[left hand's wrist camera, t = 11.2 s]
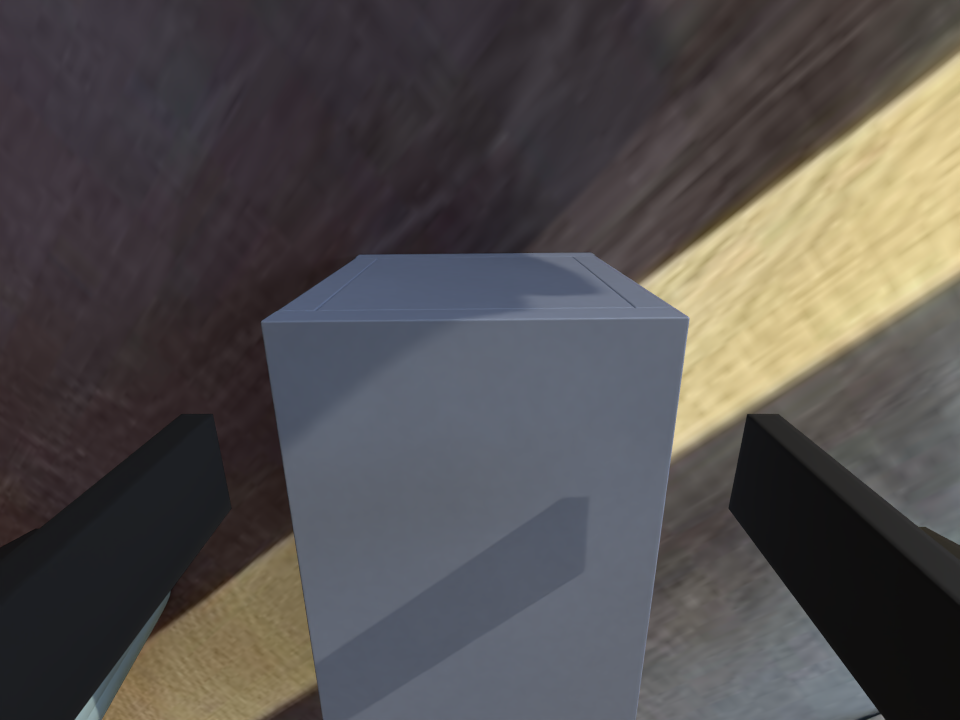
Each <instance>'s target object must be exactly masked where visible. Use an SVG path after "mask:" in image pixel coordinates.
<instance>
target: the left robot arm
mask: <svg viewBox="0 0 960 720" xmlns="http://www.w3.org/2000/svg"><path fill="white" fill-rule="evenodd" d="M230 510H231V503H230V498H229V493H228V488H227V483H226V478H225V473H224V468H223V463H222V458H221V453H220V448H219V443H218V438H217V433H216V428H215V423H214V418H213V414H181V415H180V416H179V417H177V418H176V419H175V420H174V421H172V422H171V423H170V424H169V425H167V426H166V427H165V428H164V429H162V430H161V431H160V432H159V433H158V434H156V435H155V436H154V437H153V438H151V439H150V440H149V441H148V442H146V443H145V444H144V445H143V446H141V447H140V448H139V449H138V450H136V451H135V452H134V453H133V454H131V455H130V456H129V457H128V458H127V459H125V460H124V461H123V462H122V463H120V464H119V465H118V466H117V467H115V468H114V469H113V470H112V471H110V472H109V473H108V474H107V475H105V476H104V477H103V478H102V479H101V480H99V481H98V482H97V483H96V484H94V485H93V486H92V487H91V488H89V489H88V490H87V491H86V492H84V493H83V494H82V495H81V496H79V497H78V498H77V499H76V500H74V501H73V502H72V503H71V504H70V505H68V506H67V507H66V508H65V509H63V510H62V511H61V512H60V513H58V514H57V515H56V516H55V517H53V518H52V519H51V520H50V521H48V522H47V523H46V524H45V525H44V526H42V527H41V528H40V529H34V530H32V531H30V532H29V533H27V534H25V535H23V536H21V537H19V538H17V539H15V540H14V541H12V542H10V543H8V544H6V545H4V546H2V547H1V548H0V720H75V719H76V717H77V716H78V715H79V713H80V712H81V711H82V709H83V708H84V707H85V705H86V704H87V703H88V701H89V700H90V698H91V697H92V696H93V694H94V693H95V692H96V690H97V689H98V688H99V686H100V685H101V684H102V682H103V681H104V680H105V678H106V677H107V676H108V674H109V673H110V672H111V670H112V669H113V667H114V666H115V665H116V663H117V662H118V661H119V659H120V658H121V657H122V655H123V654H124V653H125V651H126V650H127V649H128V647H129V646H130V645H131V643H132V642H133V641H134V639H135V638H136V636H137V635H138V634H139V632H140V631H141V630H142V628H143V627H144V626H145V624H146V623H147V622H148V620H149V619H150V618H151V616H152V615H153V614H154V612H155V611H156V609H157V608H158V607H159V605H160V604H161V603H162V601H163V600H164V599H165V597H166V596H167V595H168V593H169V592H170V591H171V589H172V588H173V587H174V585H175V584H176V583H177V581H178V580H179V578H180V577H181V576H182V574H183V573H184V572H185V570H186V569H187V568H188V566H189V565H190V564H191V562H192V561H193V560H194V558H195V557H196V556H197V554H198V553H199V551H200V550H201V549H202V547H203V546H204V545H205V543H206V542H207V541H208V539H209V538H210V537H211V535H212V534H213V533H214V531H215V530H216V529H217V527H218V526H219V525H220V523H221V522H222V520H223V519H224V518H225V516H226V515H227V514H228V512H229V511H230ZM729 510H730V511H731V512H732V514H733V515H734V516H735V518H736V519H737V520H738V522H739V523H740V525H741V526H742V527H743V529H744V530H745V531H746V533H747V534H748V535H749V537H750V538H751V539H752V541H753V542H754V543H755V545H756V546H757V547H758V549H759V550H760V551H761V553H762V554H763V556H764V557H765V558H766V560H767V561H768V562H769V564H770V565H771V566H772V568H773V569H774V570H775V572H776V573H777V574H778V576H779V577H780V578H781V580H782V581H783V583H784V584H785V585H786V587H787V588H788V589H789V591H790V592H791V593H792V595H793V596H794V597H795V599H796V600H797V601H798V603H799V604H800V605H801V607H802V608H803V609H804V611H805V612H806V614H807V615H808V616H809V618H810V619H811V620H812V622H813V623H814V624H815V626H816V627H817V628H818V630H819V631H820V632H821V634H822V635H823V636H824V638H825V639H826V641H827V642H828V643H829V645H830V646H831V647H832V649H833V650H834V651H835V653H836V654H837V655H838V657H839V658H840V659H841V661H842V662H843V663H844V665H845V666H846V667H847V669H848V670H849V672H850V673H851V674H852V676H853V677H854V678H855V680H856V681H857V682H858V684H859V685H860V686H861V688H862V689H863V690H864V692H865V693H866V694H867V696H868V697H869V698H870V700H871V701H872V703H873V704H874V705H875V707H876V708H877V709H878V711H879V712H880V713H881V715H882V716H883V717H884V719H885V720H960V545H958V544H956V543H954V542H952V541H951V540H949V539H947V538H945V537H943V536H941V535H939V534H937V533H936V532H934V531H932V530H930V529H928V528H926V527H918V526H916V525H915V524H914V523H913V522H912V521H910V520H909V519H908V518H907V517H905V516H904V515H903V514H902V513H900V512H899V511H898V510H897V509H895V508H894V507H893V506H892V505H890V504H889V503H888V502H887V501H886V500H884V499H883V498H882V497H881V496H879V495H878V494H877V493H876V492H874V491H873V490H872V489H871V488H869V487H868V486H867V485H866V484H864V483H863V482H862V481H861V480H859V479H858V478H857V477H856V476H855V475H853V474H852V473H851V472H850V471H848V470H847V469H846V468H845V467H843V466H842V465H841V464H840V463H838V462H837V461H836V460H835V459H833V458H832V457H831V456H830V455H829V454H827V453H826V452H825V451H824V450H822V449H821V448H820V447H819V446H817V445H816V444H815V443H814V442H812V441H811V440H810V439H809V438H807V437H806V436H805V435H804V434H802V433H801V432H800V431H799V430H798V429H796V428H795V427H794V426H793V425H791V424H790V423H789V422H788V421H786V420H785V419H784V418H783V417H781V416H780V415H779V414H747V418H746V423H745V428H744V433H743V438H742V443H741V448H740V453H739V458H738V463H737V468H736V473H735V478H734V483H733V488H732V493H731V498H730V503H729Z"/></svg>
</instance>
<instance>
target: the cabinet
mask: <svg viewBox="0 0 960 720" xmlns="http://www.w3.org/2000/svg"><path fill="white" fill-rule="evenodd" d="M688 325H689V317H688V316H686V315H685V314H683V313H682V312H680V311H679V310H677V309H676V308H674V307H672V306H671V305H669V304H668V303H666V302H665V301H663V300H662V299H660V298H659V297H657V296H656V295H654V294H652V293H651V292H649V291H648V290H646V289H645V288H643V287H642V286H640V285H639V284H637V283H636V282H634V281H633V280H631V279H629V278H628V277H626V276H625V275H623V274H622V273H620V272H619V271H617V270H616V269H614V268H613V267H611V266H610V265H608V264H606V263H605V262H603V261H602V260H600V259H599V258H597V257H595V255H594V254H592V253H501V254H388V255H358V256H357V257H355V259H354V260H353V261H351V262H350V263H348V264H347V265H345V266H344V267H342V268H341V269H339V270H338V271H336V272H335V273H333V274H332V275H330V276H329V277H327V278H326V279H324V280H323V281H321V282H320V283H318V284H317V285H315V286H314V287H312V288H311V289H309V290H308V291H306V292H305V293H303V294H302V295H300V296H299V297H298V298H296V299H295V300H293V301H292V302H290V303H289V304H287V305H286V306H284V307H283V308H281V309H280V310H278V311H276V312H274V313H273V314H271V315H270V316H268V317H267V318H265V319H264V320H262V321H261V327H262V333H263V340H264V346H265V352H266V359H267V365H268V372H269V378H270V384H271V391H272V397H273V404H274V410H275V416H276V423H277V429H278V435H279V442H280V448H281V455H282V461H283V467H284V474H285V480H286V486H287V493H288V499H289V506H290V512H291V518H292V525H293V531H294V538H295V544H296V550H297V557H298V563H299V569H300V576H301V582H302V589H303V595H304V601H305V608H306V614H307V620H308V627H309V633H310V640H311V646H312V652H313V659H314V665H315V672H316V678H317V684H318V691H319V697H320V703H321V710H322V716H323V720H636V713H637V706H638V698H639V691H640V683H641V676H642V668H643V661H644V653H645V646H646V639H647V631H648V624H649V616H650V609H651V601H652V594H653V586H654V579H655V571H656V564H657V556H658V549H659V542H660V534H661V527H662V519H663V512H664V504H665V497H666V489H667V482H668V474H669V467H670V460H671V452H672V445H673V437H674V430H675V422H676V415H677V407H678V400H679V392H680V385H681V377H682V370H683V363H684V355H685V348H686V340H687V333H688Z"/></svg>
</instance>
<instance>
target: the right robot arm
mask: <svg viewBox="0 0 960 720" xmlns="http://www.w3.org/2000/svg"><path fill="white" fill-rule="evenodd" d="M867 720H885V719H884V717H883V716H882V715H881V714H879V715H877V716H874V717H872V718H869V719H867Z"/></svg>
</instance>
